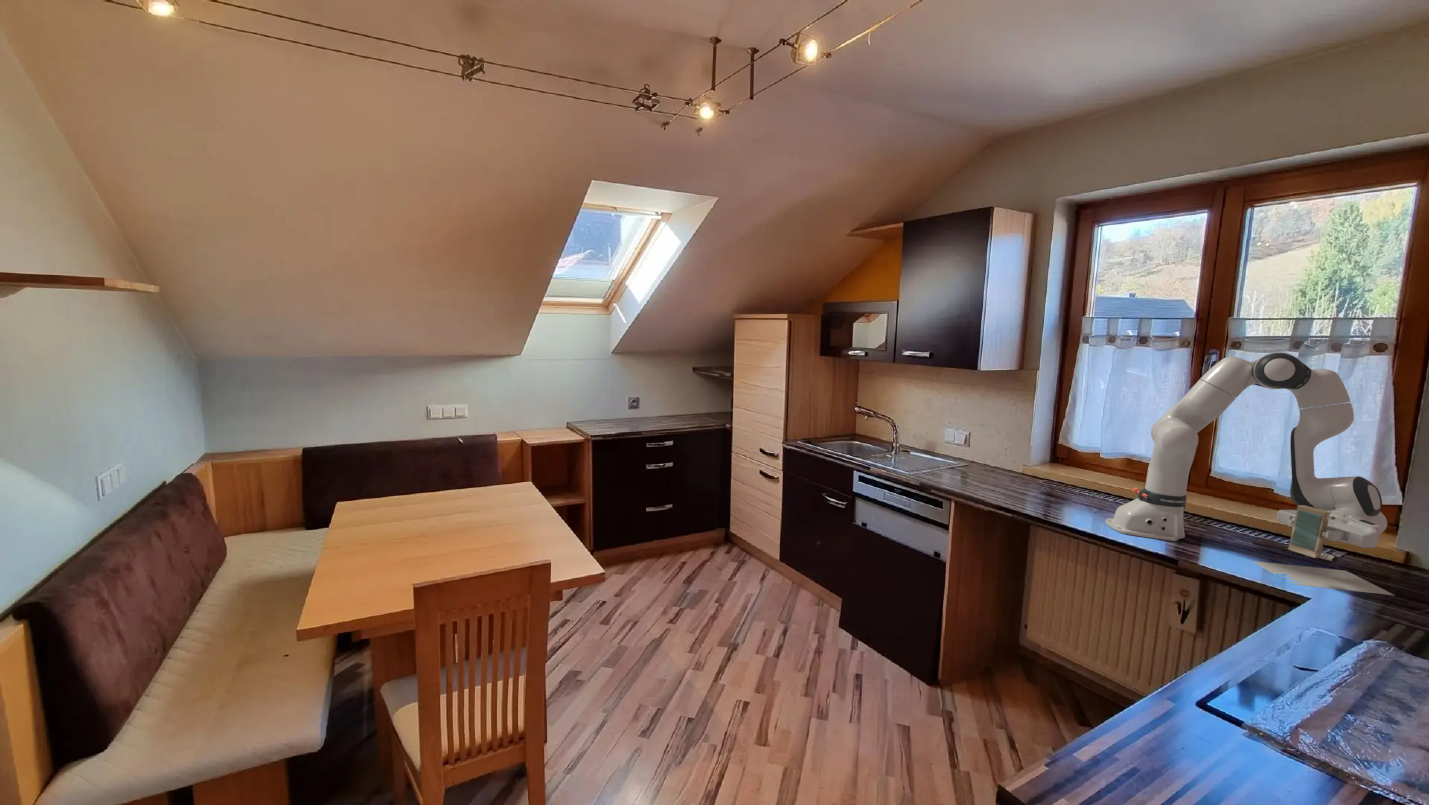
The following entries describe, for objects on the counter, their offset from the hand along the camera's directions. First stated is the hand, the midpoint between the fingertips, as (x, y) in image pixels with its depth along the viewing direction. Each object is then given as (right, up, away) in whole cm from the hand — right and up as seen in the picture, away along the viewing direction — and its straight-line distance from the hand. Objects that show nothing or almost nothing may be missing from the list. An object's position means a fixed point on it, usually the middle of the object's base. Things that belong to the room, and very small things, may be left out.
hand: (1307, 529), depth 166 cm
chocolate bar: (+22, -13, +27) cm, 37 cm away
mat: (+8, -15, +5) cm, 18 cm away
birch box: (0, -7, +1) cm, 7 cm away
